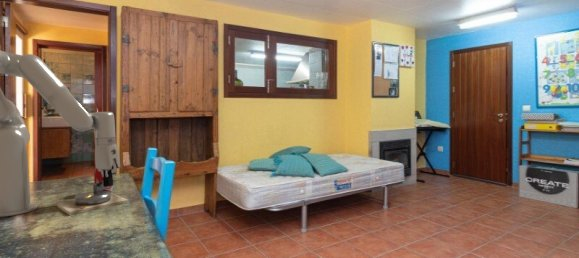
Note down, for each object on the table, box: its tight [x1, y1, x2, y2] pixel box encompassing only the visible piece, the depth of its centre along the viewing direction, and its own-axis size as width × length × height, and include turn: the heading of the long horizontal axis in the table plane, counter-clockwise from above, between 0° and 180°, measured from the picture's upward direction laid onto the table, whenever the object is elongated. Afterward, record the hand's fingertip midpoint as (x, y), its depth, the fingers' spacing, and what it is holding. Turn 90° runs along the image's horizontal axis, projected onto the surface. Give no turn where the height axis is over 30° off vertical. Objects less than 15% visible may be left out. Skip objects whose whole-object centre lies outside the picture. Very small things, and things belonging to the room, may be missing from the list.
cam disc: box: [74, 181, 111, 205], centre depth 129 cm, size 14×12×6 cm
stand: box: [56, 192, 129, 216], centre depth 128 cm, size 20×16×3 cm
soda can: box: [93, 167, 114, 193], centre depth 147 cm, size 7×7×12 cm
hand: (108, 185), depth 136 cm, fingers closed
